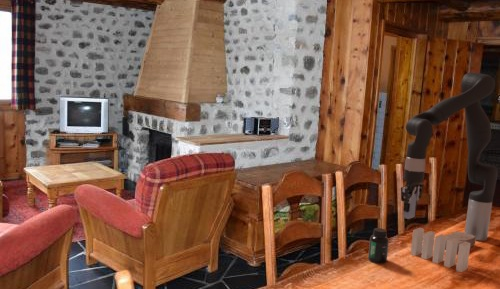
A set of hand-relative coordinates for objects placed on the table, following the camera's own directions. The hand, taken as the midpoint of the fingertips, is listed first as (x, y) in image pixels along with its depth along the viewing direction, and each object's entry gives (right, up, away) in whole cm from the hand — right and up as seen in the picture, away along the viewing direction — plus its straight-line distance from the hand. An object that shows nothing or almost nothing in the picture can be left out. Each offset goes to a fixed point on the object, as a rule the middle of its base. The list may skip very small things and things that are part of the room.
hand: (409, 210), depth 180 cm
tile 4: (+8, -19, -7) cm, 21 cm away
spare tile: (0, -3, 0) cm, 3 cm away
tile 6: (+14, -20, -14) cm, 28 cm away
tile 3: (+5, -18, -4) cm, 19 cm away
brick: (+23, -17, +9) cm, 30 cm away
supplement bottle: (-16, -18, -9) cm, 25 cm away
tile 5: (+11, -19, -11) cm, 25 cm away
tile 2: (+2, -17, -1) cm, 17 cm away
